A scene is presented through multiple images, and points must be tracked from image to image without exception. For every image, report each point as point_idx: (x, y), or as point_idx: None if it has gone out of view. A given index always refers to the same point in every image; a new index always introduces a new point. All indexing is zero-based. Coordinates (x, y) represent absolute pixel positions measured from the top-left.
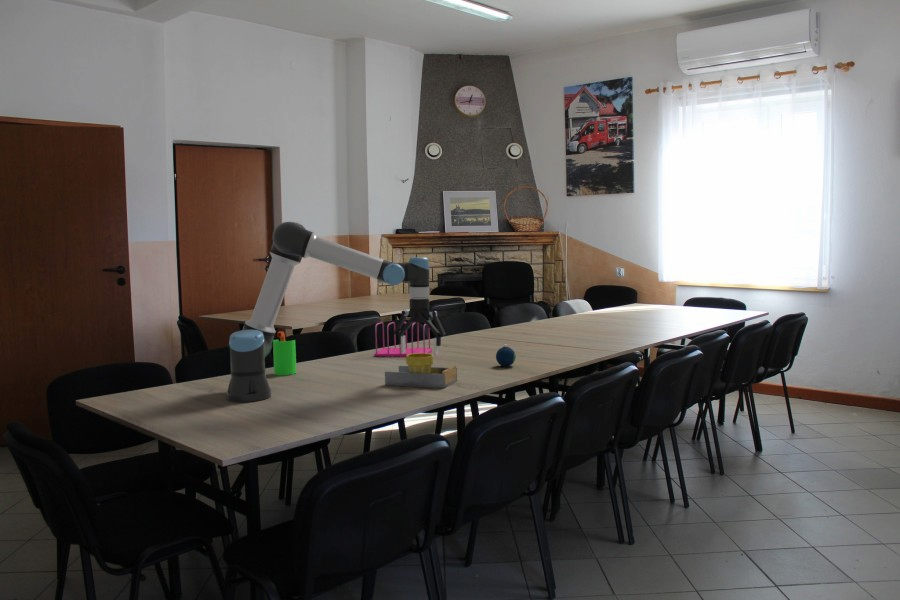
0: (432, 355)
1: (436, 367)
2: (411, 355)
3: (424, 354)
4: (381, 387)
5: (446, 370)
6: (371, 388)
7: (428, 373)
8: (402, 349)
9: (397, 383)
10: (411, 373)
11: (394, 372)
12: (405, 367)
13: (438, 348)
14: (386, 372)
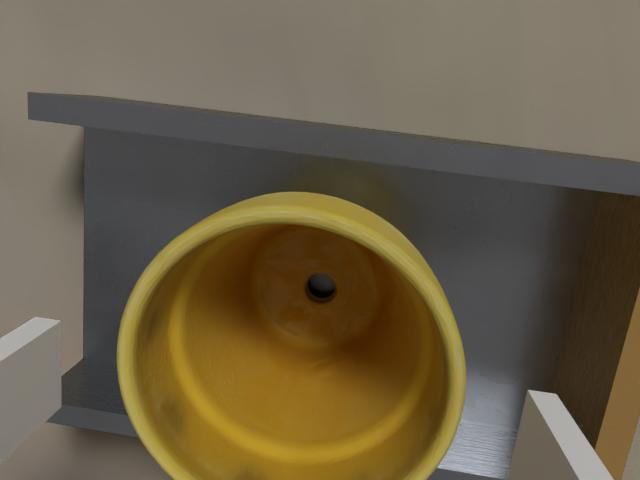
0: (461, 384)
1: (449, 163)
2: (156, 295)
3: (309, 226)
4: (102, 439)
5: (616, 465)
6: (53, 470)
7: (434, 470)
8: (26, 435)
9: None
10: None
11: (121, 433)
12: (107, 127)
13: (588, 447)
14: (51, 420)
